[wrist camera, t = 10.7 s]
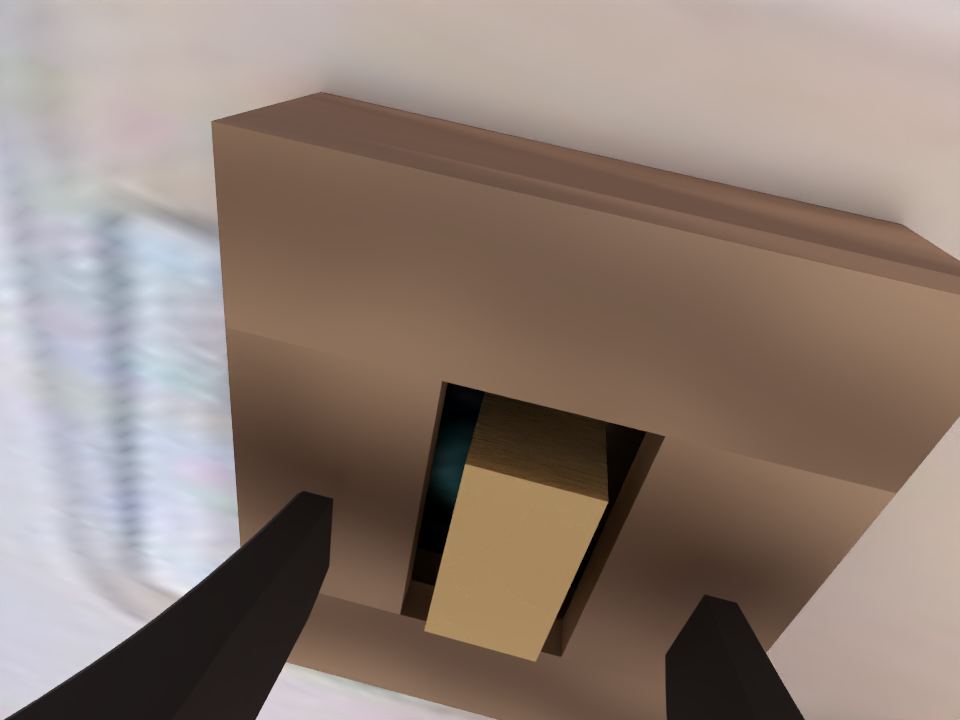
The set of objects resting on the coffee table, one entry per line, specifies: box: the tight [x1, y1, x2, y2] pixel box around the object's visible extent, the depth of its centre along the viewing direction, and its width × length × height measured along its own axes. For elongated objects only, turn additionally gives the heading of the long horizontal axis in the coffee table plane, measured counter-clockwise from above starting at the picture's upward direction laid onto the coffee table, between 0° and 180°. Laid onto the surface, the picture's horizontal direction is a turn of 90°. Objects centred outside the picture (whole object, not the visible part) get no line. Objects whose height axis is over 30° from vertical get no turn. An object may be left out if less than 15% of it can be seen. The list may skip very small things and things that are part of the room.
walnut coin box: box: [211, 92, 960, 720], centre depth 13 cm, size 14×12×4 cm
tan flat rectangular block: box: [424, 392, 608, 662], centre depth 13 cm, size 5×2×5 cm, turn 169°
